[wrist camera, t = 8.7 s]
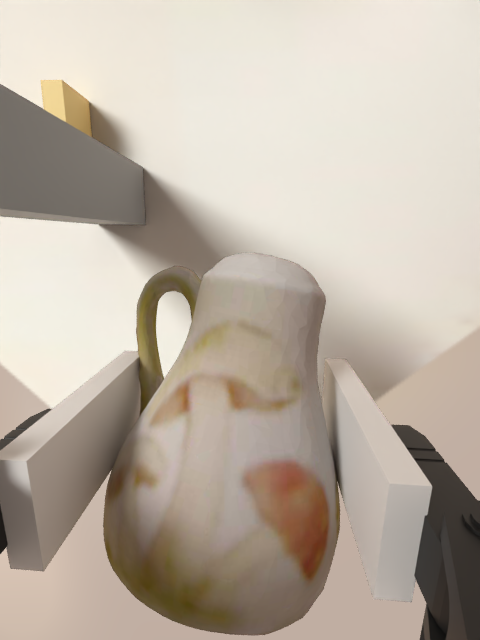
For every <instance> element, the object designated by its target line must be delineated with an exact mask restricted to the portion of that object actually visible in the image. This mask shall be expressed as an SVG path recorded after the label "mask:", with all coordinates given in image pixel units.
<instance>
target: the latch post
mask: <svg viewBox="0 0 480 640" xmlns="http://www.w3.org/2000/svg"><path fill="white" fill-rule="evenodd" d="M41 88H42V97H43V106H44V109H42V108H41V107H39V106H37V105H35V104H34V103H32V102H30V101H29V100H27V99H25V98H23V97H22V96H20V95H18V94H17V93H15V92H13V91H11V90H10V89H8V88H6V87H5V86H3V85H1V84H0V216H3V217H15V218H27V219H39V220H51V221H63V222H76V223H88V224H112V225H146V218H145V199H144V180H143V167H142V166H140V165H138V164H136V163H135V162H133V161H131V160H130V159H128V158H126V157H124V156H123V155H121V154H119V153H118V152H116V151H114V150H112V149H111V148H109V147H107V146H106V145H104V144H102V143H100V142H99V141H97V140H95V139H94V138H92V132H91V120H90V109H89V101H88V100H87V99H86V98H84V97H83V96H82V95H80V94H79V93H78V92H77V91H75V90H74V89H73V88H71V87H70V86H69V85H68V84H66V83H65V82H64V81H62V80H41Z"/></svg>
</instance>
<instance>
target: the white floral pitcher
mask: <svg viewBox="0 0 480 640" xmlns="http://www.w3.org/2000/svg"><path fill="white" fill-rule="evenodd" d="M168 291H177V292H180V293H182V294H183V295H184V296H185V297H186V299H187V300H188V303H189V305H190V309H191V316H192V323H191V326H190V329H189V333H188V336H187V339H186V341H185V344H184V346H183V348H182V350H181V352H180V354H179V356H178V358H177V360H176V361H175V363H174V365H173V366H172V368H171V369H170V371H169V372H168V374H167V375H166V377H165V378H164V377H163V374H162V369H161V364H160V359H159V353H158V347H157V338H156V314H157V306H158V301H159V299H160V298H161V296H162V295H163V294H165V293H166V292H168ZM325 303H326V298H325V295H324V293H323V291H322V290H321V288H320V287H319V285H318V283H317V282H316V280H315V278H314V277H313V276H312V275H311V274H310V272H308V271H307V270H306V269H304V268H303V267H301V266H300V265H298V264H296V263H294V262H291V261H288V260H284V259H281V258H278V257H274V256H271V255H264V254H257V253H238V254H234V255H230V256H227V257H225V258H223V259H222V260H221V261H219V262H218V263H217V264H216V265H215V266H214V267H213V268H212V269H210V270H209V271H208V272H206V273H205V274H204V275H203V277H202V281H201V280H200V279H199V278H198V276H197V275H196V274H195V273H194V272H193V271H192V270H190V269H187V268H184V267H181V266H173V267H171V268H168V269H165V270H163V271H161V272H159V273H157V274H156V275H154V276H153V277H152V278H151V279H150V280H149V281H148V282H147V283H146V285H145V287H144V289H143V291H142V293H141V295H140V298H139V301H138V304H137V328H136V334H137V342H138V355H139V365H140V369H139V382H140V390H141V396H140V414H139V418H138V419H137V421H136V422H135V424H134V426H133V427H132V429H131V430H130V432H129V434H128V436H127V438H126V439H125V441H124V443H123V445H122V447H121V450H120V452H119V454H118V456H117V458H116V461H115V463H114V466H113V468H112V471H111V475H110V478H109V481H108V485H107V490H106V496H105V508H104V523H103V527H104V542H105V547H106V551H107V556H108V559H109V562H110V564H111V566H112V568H113V570H114V572H115V573H116V574H117V576H118V577H119V579H120V580H121V582H122V583H123V584H124V585H125V586H126V587H127V589H128V590H129V591H130V592H131V593H132V594H133V595H134V596H135V597H136V598H137V599H138V600H139V601H141V602H142V603H144V604H145V605H146V606H148V607H149V608H151V609H152V610H154V611H156V612H157V613H159V614H161V615H162V616H164V617H166V618H168V619H170V620H172V621H175V622H178V623H180V624H183V625H186V626H189V627H193V628H196V629H200V630H205V631H210V632H217V633H225V634H235V635H265V634H269V633H272V632H274V631H277V630H280V629H282V628H284V627H286V626H289V625H291V624H292V623H294V622H295V621H297V620H299V619H301V618H303V616H305V614H306V613H307V612H308V611H309V609H310V608H311V606H312V605H313V603H314V602H315V600H316V599H317V598H318V596H319V595H320V594H321V592H322V591H323V589H324V586H325V583H326V580H327V577H328V574H329V571H330V567H331V564H332V560H333V556H334V552H335V548H336V544H337V540H338V534H339V528H340V504H339V493H338V484H337V475H336V470H335V465H334V460H333V455H332V450H331V445H330V441H329V436H328V432H327V427H326V421H325V416H324V412H323V407H322V403H321V398H320V393H319V388H318V381H317V352H318V345H319V333H320V327H321V323H322V318H323V314H324V309H325Z"/></svg>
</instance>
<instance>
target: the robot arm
mask: <svg viewBox="0 0 480 640" xmlns="http://www.w3.org/2000/svg"><path fill="white" fill-rule="evenodd" d="M139 369H140V365H139V355H138V351H124V352H123V353H122V354H121V355H119V356H118V357H117V358H116V359H114V360H113V361H112V362H111V363H109V364H108V365H107V366H106V367H104V368H103V369H102V370H101V371H99V372H98V373H97V374H96V375H94V376H93V377H92V378H91V379H89V380H88V381H87V382H86V383H84V384H83V385H82V386H81V387H79V388H78V389H77V390H76V391H74V392H73V393H72V394H71V395H69V396H68V397H67V398H66V399H64V400H63V401H62V402H61V403H59V404H58V405H57V406H56V407H54V408H53V409H47V410H44V411H42V412H40V413H38V414H36V415H34V416H32V417H30V418H28V419H27V420H26V421H24V422H23V423H22V424H20V425H19V426H18V427H16V430H12V431H11V432H10V433H9V434H7V435H6V436H5V437H4V439H1V440H0V554H1V553H2V551H3V550H4V549H5V548H6V547H7V553H8V558H9V563H10V568H11V569H22V570H34V571H44V570H45V569H46V567H47V566H48V564H49V563H50V561H51V560H52V558H53V557H54V555H55V554H56V552H57V551H58V549H59V548H60V546H61V545H62V543H63V542H64V540H65V539H66V537H67V536H68V534H69V533H70V531H71V530H72V528H73V527H74V525H75V524H76V522H77V521H78V519H79V518H80V516H81V515H82V513H83V512H84V510H85V509H86V507H87V506H88V504H89V503H90V501H91V500H92V498H93V497H94V495H95V493H96V492H97V491H98V489H99V488H100V486H101V484H102V483H103V482H104V480H105V479H106V477H107V475H108V474H109V472H110V471H111V470H112V468H113V466H114V463H115V461H116V458H117V456H118V454H119V452H120V450H121V447H122V445H123V443H124V441H125V439H126V438H127V436H128V434H129V432H130V430H131V429H132V427H133V426H134V424H135V422H136V421H137V419H138V418H139V414H140V396H141V390H140V382H139ZM322 407H323V412H324V416H325V421H326V427H327V432H328V436H329V441H330V445H331V450H332V455H333V460H334V465H335V470H336V475H337V481H338V484H339V488H340V491H341V494H342V498H343V501H344V504H345V508H346V511H347V514H348V518H349V521H350V524H351V528H352V531H353V534H354V537H355V541H356V544H357V547H358V551H359V554H360V557H361V561H362V564H363V567H364V571H365V574H366V577H367V581H368V584H369V587H370V590H371V594H372V597H373V599H379V600H391V601H403V602H412V598H413V593H414V587H415V581H416V580H417V583H418V585H419V587H420V589H421V592H422V594H423V596H424V598H425V601H426V603H427V604H426V610H425V615H424V620H423V625H422V631H421V635H420V640H480V501H478V500H477V499H475V497H474V496H473V495H472V493H471V492H470V491H469V490H468V488H467V487H466V486H465V485H464V483H463V482H462V481H461V480H460V479H459V477H458V476H457V475H456V474H455V472H454V471H453V470H452V469H451V468H450V466H449V465H448V464H447V463H445V462H444V459H443V458H442V457H441V455H440V454H439V453H438V452H436V451H435V448H434V447H433V445H432V444H431V443H430V442H429V441H428V439H427V438H426V437H425V436H424V435H422V434H421V433H419V432H418V431H416V430H415V429H413V428H412V427H410V426H408V425H390V423H389V422H388V420H387V419H386V418H385V416H384V414H383V413H382V412H381V410H380V408H379V407H378V406H377V404H376V403H375V401H374V400H373V398H372V397H371V395H370V394H369V392H368V391H367V389H366V388H365V386H364V385H363V384H362V382H361V381H360V379H359V378H358V376H357V375H356V373H355V372H354V370H353V369H352V367H351V366H350V364H349V363H348V361H347V360H346V359H327V358H325V369H324V382H323V394H322Z"/></svg>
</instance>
